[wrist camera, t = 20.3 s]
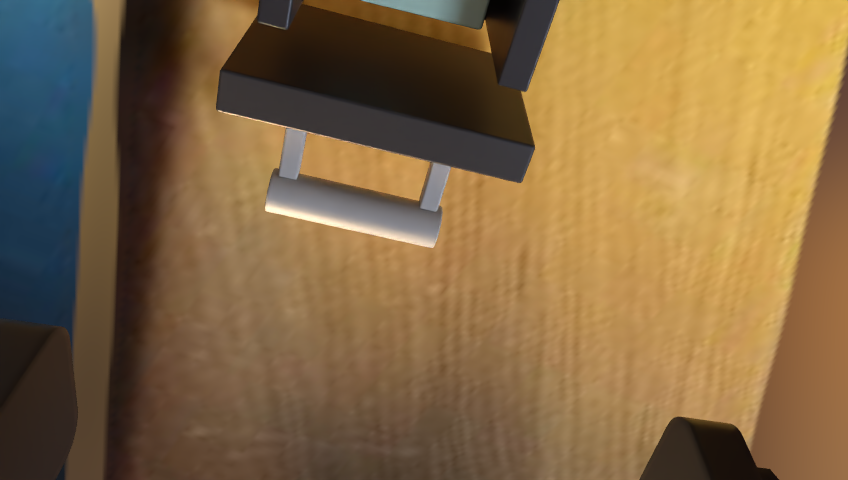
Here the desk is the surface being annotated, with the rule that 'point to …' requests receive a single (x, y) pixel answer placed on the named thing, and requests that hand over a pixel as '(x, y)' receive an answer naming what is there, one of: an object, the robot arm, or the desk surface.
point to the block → (443, 10)
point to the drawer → (386, 105)
